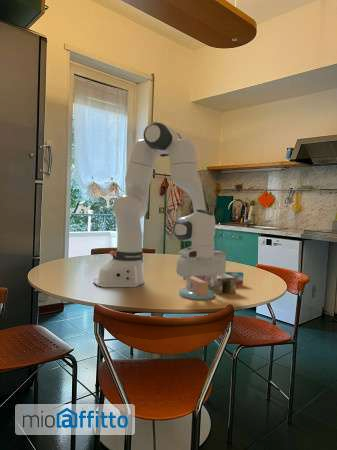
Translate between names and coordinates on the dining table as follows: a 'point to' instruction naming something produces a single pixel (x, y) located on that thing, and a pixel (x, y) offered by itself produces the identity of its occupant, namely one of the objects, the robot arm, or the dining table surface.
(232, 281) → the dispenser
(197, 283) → the pinkish orange box
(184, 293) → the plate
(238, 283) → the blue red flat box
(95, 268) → the dining table surface
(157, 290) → the dining table surface
